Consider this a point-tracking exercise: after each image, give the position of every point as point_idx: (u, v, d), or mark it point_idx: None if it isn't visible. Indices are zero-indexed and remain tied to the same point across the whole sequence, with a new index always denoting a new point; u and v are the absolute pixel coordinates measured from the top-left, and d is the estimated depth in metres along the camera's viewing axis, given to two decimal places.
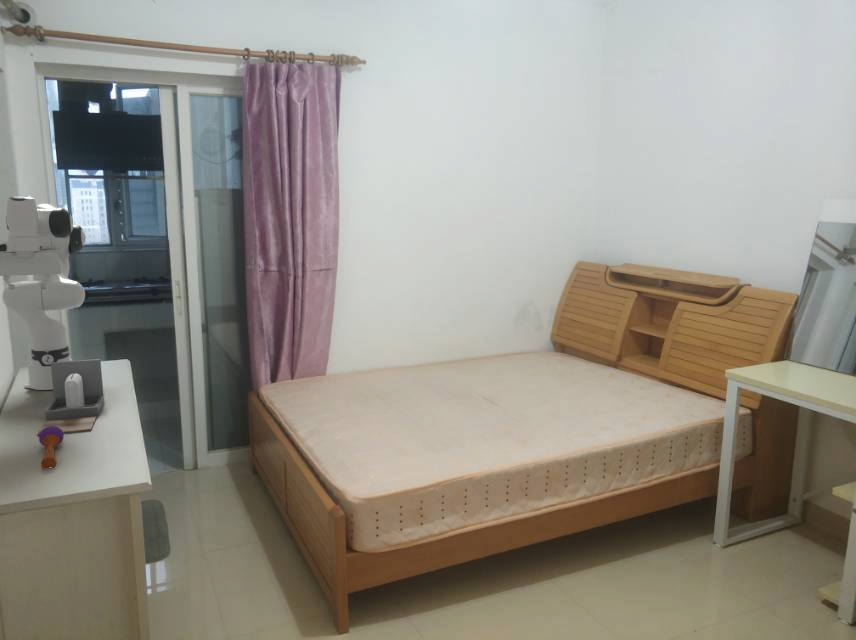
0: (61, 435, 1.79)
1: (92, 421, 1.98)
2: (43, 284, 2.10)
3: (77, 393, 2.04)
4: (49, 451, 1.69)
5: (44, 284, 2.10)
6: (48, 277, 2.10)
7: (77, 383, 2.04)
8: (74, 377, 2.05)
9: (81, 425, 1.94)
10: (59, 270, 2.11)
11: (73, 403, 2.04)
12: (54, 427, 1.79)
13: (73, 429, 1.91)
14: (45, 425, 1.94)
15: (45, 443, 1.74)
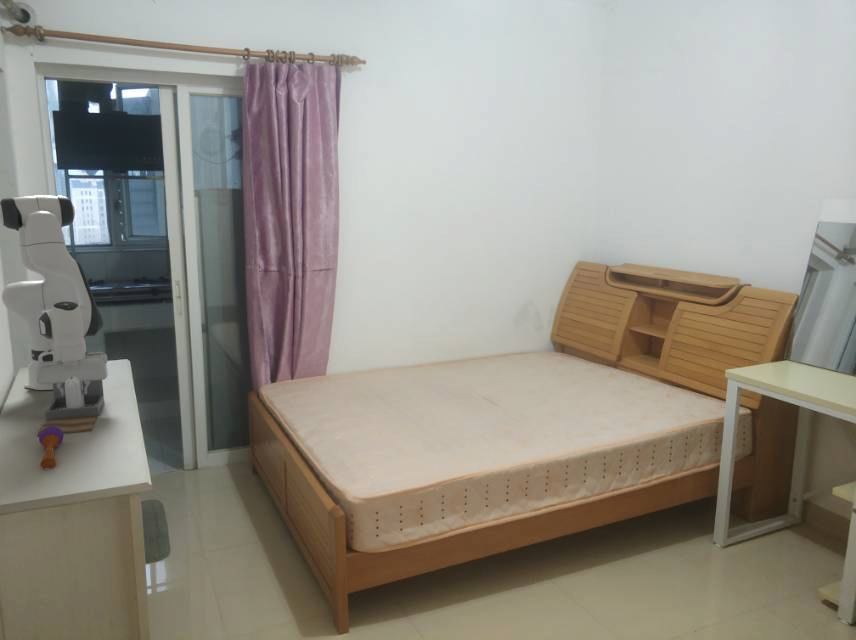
0: (61, 435, 1.79)
1: (92, 421, 1.98)
2: (82, 390, 2.08)
3: (77, 393, 2.04)
4: (49, 451, 1.68)
5: (83, 390, 2.08)
6: (87, 383, 2.08)
7: (77, 383, 2.04)
8: (74, 377, 2.05)
9: (81, 425, 1.94)
10: (105, 376, 2.09)
11: (73, 403, 2.04)
12: (54, 427, 1.79)
13: (73, 429, 1.91)
14: (45, 425, 1.94)
15: (45, 443, 1.74)
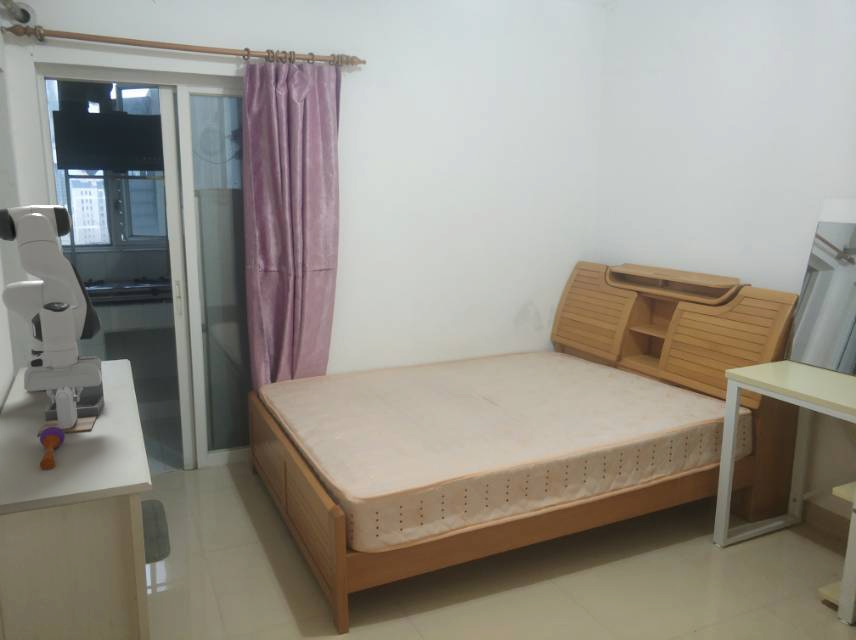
0: (62, 436, 1.78)
1: (92, 421, 1.98)
2: (74, 397, 1.94)
3: (69, 405, 1.91)
4: (49, 452, 1.68)
5: (76, 397, 1.94)
6: (80, 390, 1.94)
7: (69, 394, 1.90)
8: (66, 387, 1.91)
9: (81, 425, 1.94)
10: (98, 382, 1.95)
11: (64, 416, 1.90)
12: (55, 428, 1.78)
13: (73, 429, 1.91)
14: (45, 425, 1.94)
15: (45, 444, 1.74)
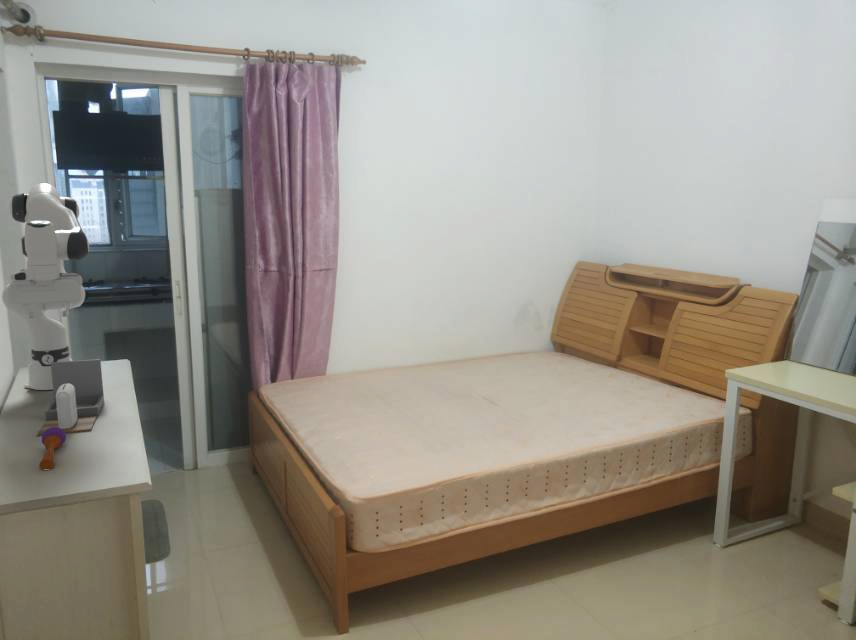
0: (63, 436, 1.78)
1: (92, 421, 1.98)
2: (63, 312, 2.04)
3: (69, 405, 1.91)
4: (49, 452, 1.68)
5: (64, 312, 2.04)
6: (68, 305, 2.04)
7: (69, 394, 1.91)
8: (66, 387, 1.91)
9: (81, 425, 1.94)
10: (80, 298, 2.04)
11: (65, 416, 1.90)
12: (56, 428, 1.78)
13: (73, 429, 1.91)
14: (45, 425, 1.94)
15: (46, 444, 1.74)
